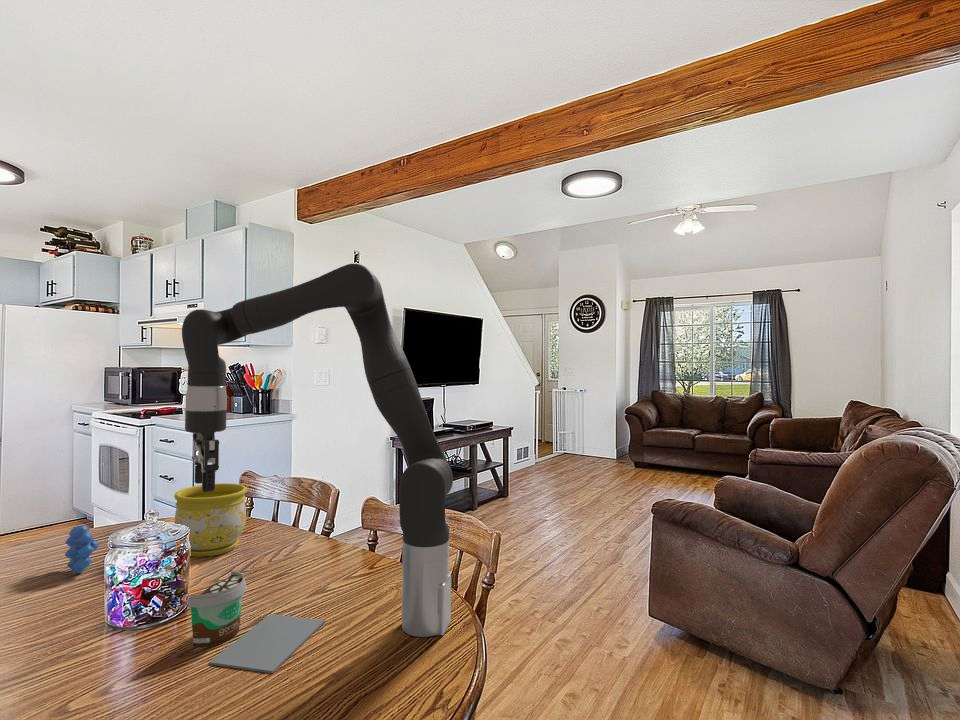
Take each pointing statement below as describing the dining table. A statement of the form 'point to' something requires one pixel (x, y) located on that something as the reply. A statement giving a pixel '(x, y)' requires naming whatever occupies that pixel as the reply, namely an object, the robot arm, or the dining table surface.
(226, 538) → the flowerpot
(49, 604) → the dining table surface
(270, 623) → the mat
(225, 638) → the food container
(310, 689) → the dining table surface
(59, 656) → the dining table surface
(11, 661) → the dining table surface
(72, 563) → the grapes
